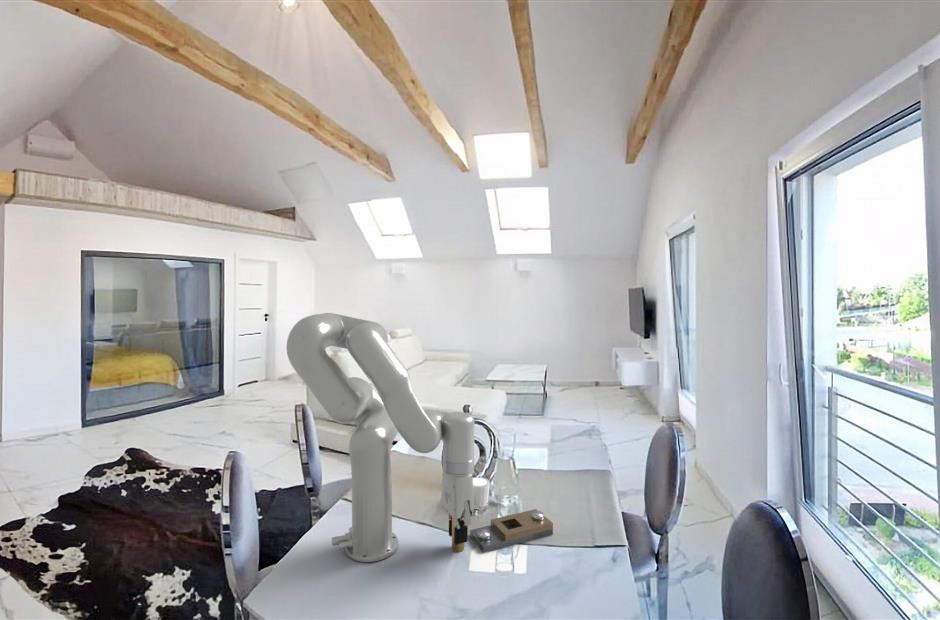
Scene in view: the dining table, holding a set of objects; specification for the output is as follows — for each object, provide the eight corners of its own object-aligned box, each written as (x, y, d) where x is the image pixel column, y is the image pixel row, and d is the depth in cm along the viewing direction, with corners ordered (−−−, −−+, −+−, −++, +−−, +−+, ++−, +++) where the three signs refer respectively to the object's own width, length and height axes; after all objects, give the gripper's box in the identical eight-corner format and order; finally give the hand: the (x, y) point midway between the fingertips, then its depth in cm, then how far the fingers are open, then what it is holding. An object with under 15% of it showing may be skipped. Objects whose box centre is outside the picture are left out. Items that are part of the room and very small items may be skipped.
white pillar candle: (487, 511, 127) (487, 487, 126) (463, 509, 128) (464, 485, 128) (491, 500, 133) (491, 477, 133) (468, 498, 135) (469, 475, 134)
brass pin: (454, 553, 107) (454, 512, 106) (449, 546, 109) (450, 507, 109) (466, 550, 108) (466, 510, 107) (461, 544, 111) (461, 504, 110)
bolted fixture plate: (483, 552, 107) (483, 536, 107) (469, 535, 114) (469, 520, 114) (552, 534, 115) (553, 519, 115) (535, 519, 123) (536, 505, 122)
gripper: (432, 455, 113) (432, 525, 114) (457, 480, 99) (456, 561, 99) (459, 451, 116) (459, 519, 117) (487, 475, 102) (486, 553, 103)
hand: (458, 538), depth 108 cm, fingers closed on brass pin, 2 cm apart
